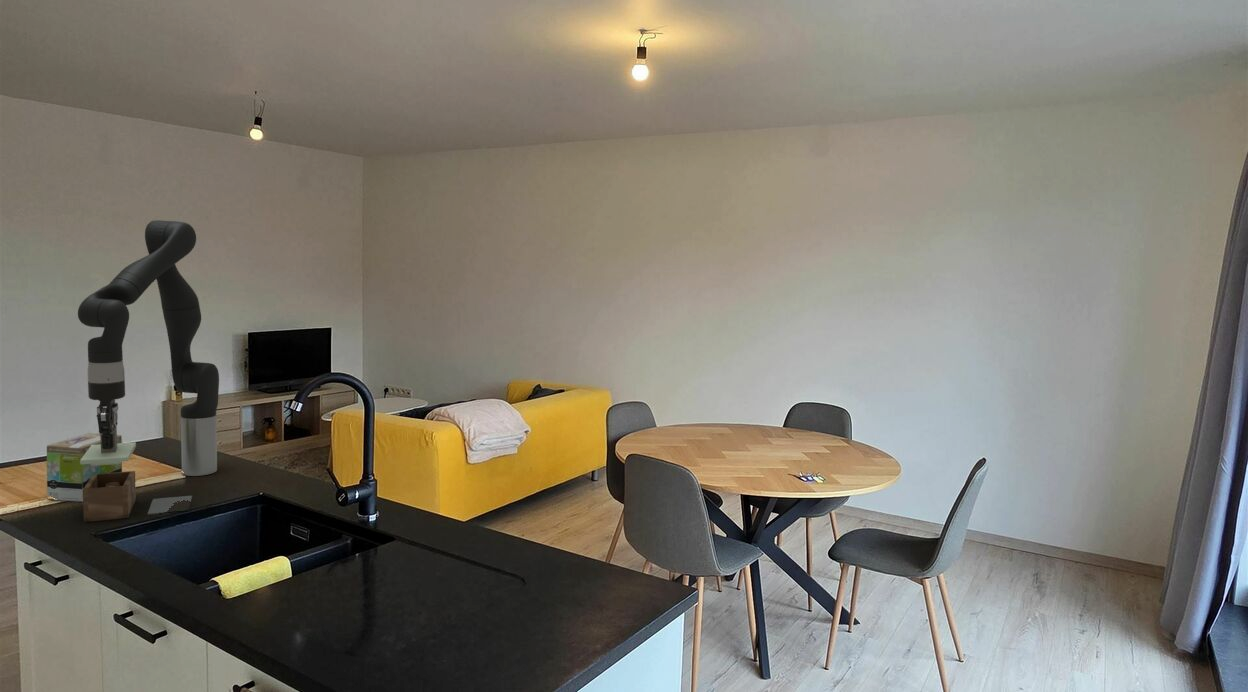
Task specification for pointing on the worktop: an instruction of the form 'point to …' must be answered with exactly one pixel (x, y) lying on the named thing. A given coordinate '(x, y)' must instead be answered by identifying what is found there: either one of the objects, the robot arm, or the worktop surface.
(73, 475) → the tea box
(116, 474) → the crate
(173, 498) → the mat
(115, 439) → the lid
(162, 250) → the robot arm
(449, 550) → the worktop surface
